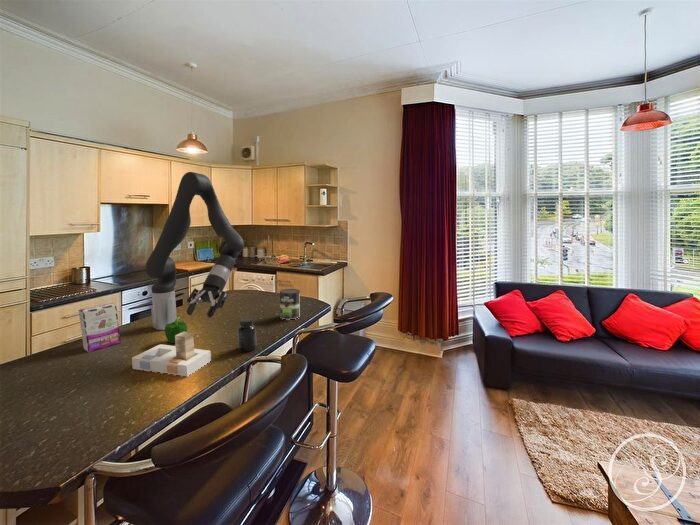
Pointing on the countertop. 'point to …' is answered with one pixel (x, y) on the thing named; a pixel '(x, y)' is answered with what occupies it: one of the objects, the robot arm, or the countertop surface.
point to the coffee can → (289, 304)
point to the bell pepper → (174, 329)
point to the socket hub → (170, 361)
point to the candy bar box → (99, 327)
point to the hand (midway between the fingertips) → (198, 315)
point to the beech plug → (184, 346)
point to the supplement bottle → (247, 335)
